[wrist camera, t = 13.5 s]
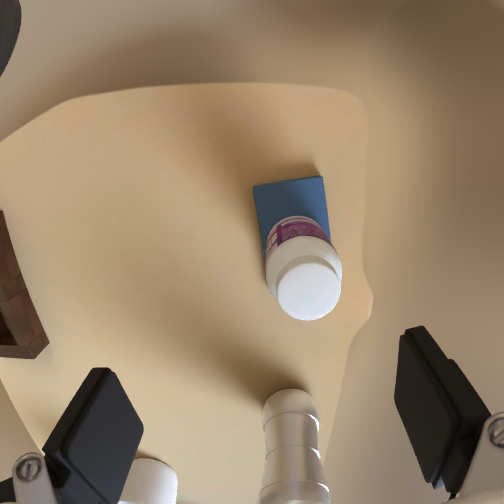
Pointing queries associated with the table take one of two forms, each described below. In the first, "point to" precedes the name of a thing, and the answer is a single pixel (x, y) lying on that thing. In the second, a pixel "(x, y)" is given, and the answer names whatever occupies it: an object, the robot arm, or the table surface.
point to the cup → (150, 483)
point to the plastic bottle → (292, 450)
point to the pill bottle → (302, 268)
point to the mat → (290, 203)
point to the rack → (16, 307)
